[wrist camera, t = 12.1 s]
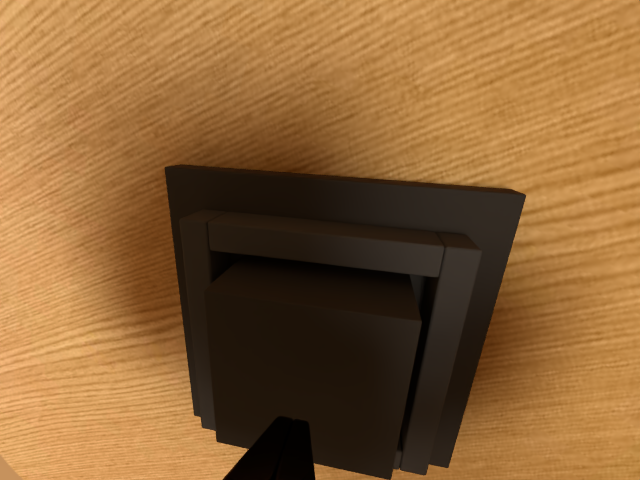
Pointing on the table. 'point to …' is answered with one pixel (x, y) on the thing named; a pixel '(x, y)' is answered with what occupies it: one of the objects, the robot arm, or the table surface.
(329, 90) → the table surface
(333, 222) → the dock pad
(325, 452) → the black square block
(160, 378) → the table surface
